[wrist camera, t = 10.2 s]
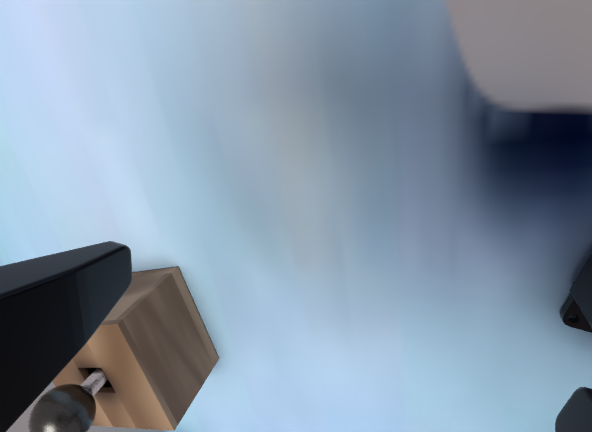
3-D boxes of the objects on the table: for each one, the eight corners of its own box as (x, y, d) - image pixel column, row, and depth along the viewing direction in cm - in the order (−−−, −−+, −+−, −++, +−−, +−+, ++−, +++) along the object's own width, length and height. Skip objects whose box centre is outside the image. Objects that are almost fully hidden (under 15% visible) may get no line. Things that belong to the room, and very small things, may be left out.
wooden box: (178, 266, 26) (117, 324, 20) (219, 358, 28) (174, 430, 23) (92, 277, 29) (19, 330, 23) (136, 360, 31) (80, 424, 26)
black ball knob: (164, 287, 26) (49, 400, 18) (197, 357, 28) (106, 486, 20) (99, 294, 28) (-30, 397, 20) (133, 358, 30) (29, 475, 22)
